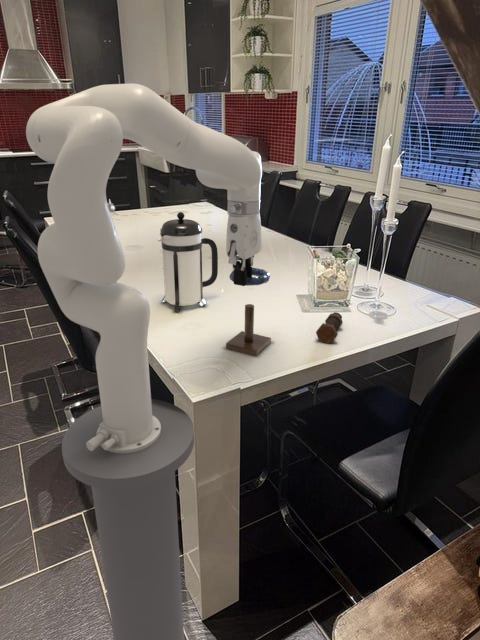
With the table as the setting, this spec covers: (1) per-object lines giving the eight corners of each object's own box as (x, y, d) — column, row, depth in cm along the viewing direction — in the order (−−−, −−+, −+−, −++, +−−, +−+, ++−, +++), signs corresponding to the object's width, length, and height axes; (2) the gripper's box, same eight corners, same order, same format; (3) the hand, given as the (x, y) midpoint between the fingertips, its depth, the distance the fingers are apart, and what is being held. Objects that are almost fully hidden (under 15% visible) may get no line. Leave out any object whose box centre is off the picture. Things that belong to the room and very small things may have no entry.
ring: (259, 289, 112) (259, 281, 111) (222, 282, 116) (222, 274, 116) (276, 277, 120) (276, 270, 119) (240, 271, 125) (241, 264, 124)
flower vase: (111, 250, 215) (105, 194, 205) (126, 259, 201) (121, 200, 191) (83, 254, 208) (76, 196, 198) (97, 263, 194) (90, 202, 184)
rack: (256, 355, 120) (257, 314, 115) (226, 348, 124) (225, 308, 119) (270, 342, 127) (272, 303, 123) (241, 335, 131) (242, 297, 127)
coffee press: (200, 315, 144) (197, 218, 132) (153, 309, 148) (146, 214, 137) (218, 297, 159) (218, 208, 148) (175, 292, 164) (171, 205, 152)
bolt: (338, 328, 141) (327, 347, 128) (324, 318, 141) (312, 336, 128) (349, 314, 138) (339, 332, 125) (335, 304, 138) (324, 321, 125)
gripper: (241, 214, 100) (241, 295, 107) (272, 204, 113) (270, 276, 120) (211, 211, 103) (213, 290, 110) (245, 201, 116) (244, 272, 123)
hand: (242, 282), depth 115 cm, fingers closed on ring, 2 cm apart
